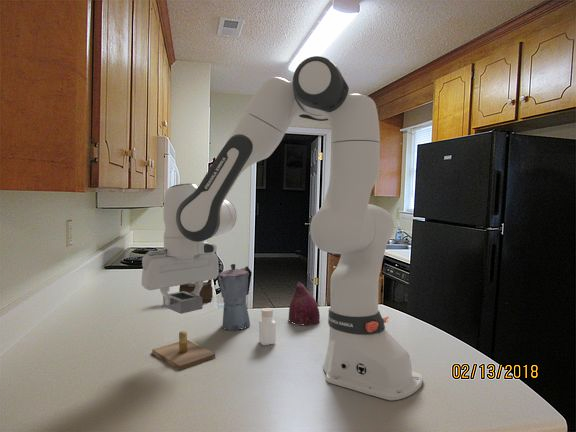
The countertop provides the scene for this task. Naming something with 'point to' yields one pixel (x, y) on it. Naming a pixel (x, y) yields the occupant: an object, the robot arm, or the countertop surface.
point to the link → (184, 302)
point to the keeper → (183, 353)
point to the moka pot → (235, 297)
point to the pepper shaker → (267, 327)
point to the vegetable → (303, 307)
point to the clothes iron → (204, 293)
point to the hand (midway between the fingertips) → (182, 301)
